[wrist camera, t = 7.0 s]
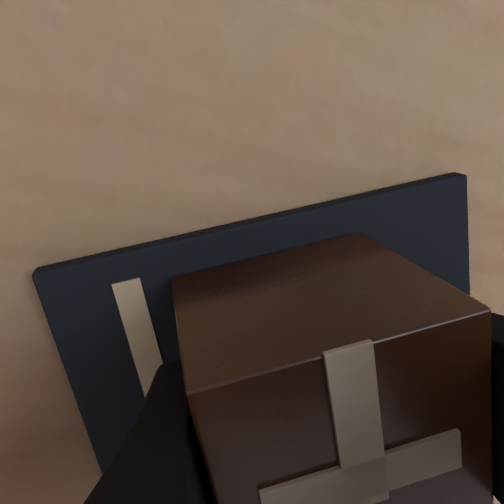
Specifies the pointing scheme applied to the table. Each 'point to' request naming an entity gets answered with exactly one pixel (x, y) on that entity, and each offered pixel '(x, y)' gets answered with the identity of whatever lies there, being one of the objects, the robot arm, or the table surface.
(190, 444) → the robot arm
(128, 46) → the table surface
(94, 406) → the word mat
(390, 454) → the letter tile
